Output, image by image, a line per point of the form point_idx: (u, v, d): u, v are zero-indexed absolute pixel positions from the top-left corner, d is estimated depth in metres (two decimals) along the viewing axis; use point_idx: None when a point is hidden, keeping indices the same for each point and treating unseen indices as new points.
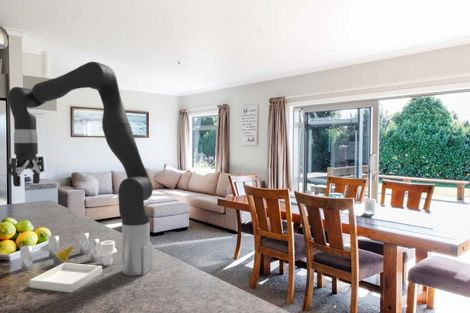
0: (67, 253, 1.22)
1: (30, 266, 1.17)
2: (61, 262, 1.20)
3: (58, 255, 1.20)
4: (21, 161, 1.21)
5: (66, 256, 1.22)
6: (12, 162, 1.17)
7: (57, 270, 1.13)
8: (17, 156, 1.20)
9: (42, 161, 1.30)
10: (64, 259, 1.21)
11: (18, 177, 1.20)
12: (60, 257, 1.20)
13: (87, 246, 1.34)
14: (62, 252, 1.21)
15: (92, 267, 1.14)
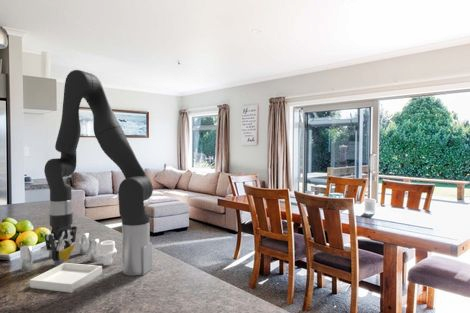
0: (68, 252, 1.22)
1: (30, 266, 1.17)
2: (62, 261, 1.20)
3: (59, 254, 1.21)
4: (57, 235, 1.19)
5: (67, 255, 1.22)
6: (50, 239, 1.15)
7: (57, 270, 1.13)
8: (53, 229, 1.18)
9: (75, 231, 1.27)
10: (65, 258, 1.22)
11: (57, 251, 1.19)
12: (61, 256, 1.21)
13: (87, 246, 1.34)
14: (63, 251, 1.22)
15: (92, 267, 1.14)
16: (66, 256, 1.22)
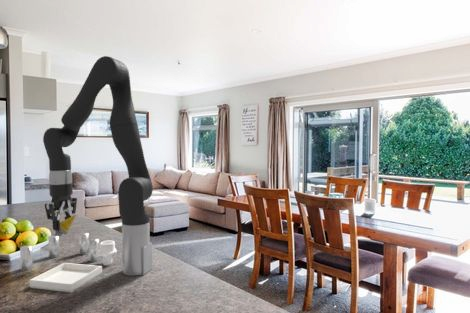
0: (69, 223, 1.22)
1: (30, 266, 1.17)
2: (63, 231, 1.20)
3: (60, 225, 1.21)
4: (57, 205, 1.18)
5: (68, 226, 1.22)
6: (50, 208, 1.15)
7: (57, 270, 1.13)
8: (53, 198, 1.18)
9: (75, 202, 1.27)
10: (66, 229, 1.21)
11: (58, 221, 1.19)
12: (62, 226, 1.20)
13: (87, 246, 1.34)
14: (64, 222, 1.22)
15: (92, 267, 1.14)
16: (67, 226, 1.22)
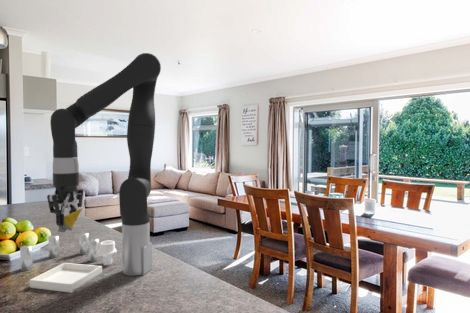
0: (74, 217, 1.08)
1: (30, 266, 1.17)
2: (67, 227, 1.06)
3: (64, 219, 1.06)
4: (62, 196, 1.04)
5: (73, 221, 1.07)
6: (53, 200, 1.01)
7: (57, 270, 1.13)
8: (57, 189, 1.03)
9: (81, 195, 1.13)
10: (71, 224, 1.07)
11: (62, 215, 1.04)
12: (66, 221, 1.06)
13: (87, 246, 1.34)
14: (68, 216, 1.07)
15: (92, 267, 1.14)
16: (72, 221, 1.07)
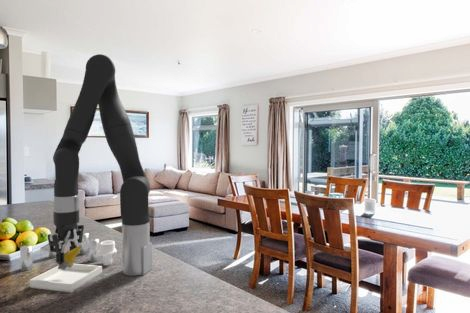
0: (74, 254, 1.08)
1: (30, 266, 1.17)
2: (67, 265, 1.07)
3: (64, 257, 1.07)
4: (62, 235, 1.05)
5: (73, 258, 1.08)
6: (53, 240, 1.01)
7: (57, 270, 1.13)
8: (57, 228, 1.04)
9: (82, 230, 1.13)
10: (71, 261, 1.08)
11: (62, 253, 1.05)
12: (66, 259, 1.07)
13: (87, 246, 1.34)
14: (68, 253, 1.08)
15: (92, 267, 1.14)
16: (72, 259, 1.08)
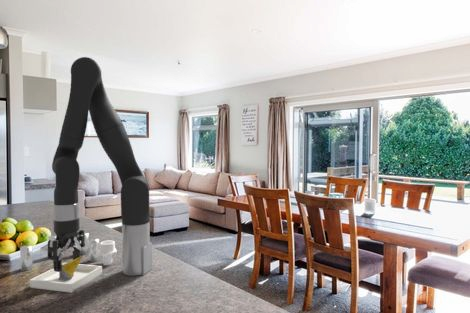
0: (74, 265, 1.08)
1: (30, 266, 1.17)
2: (68, 276, 1.06)
3: (64, 268, 1.07)
4: (62, 242, 1.04)
5: (73, 269, 1.08)
6: (53, 246, 1.01)
7: None
8: (58, 236, 1.04)
9: (83, 235, 1.14)
10: (71, 272, 1.07)
11: (59, 261, 1.03)
12: (67, 270, 1.06)
13: (87, 246, 1.34)
14: (69, 264, 1.08)
15: (92, 267, 1.14)
16: (72, 269, 1.08)
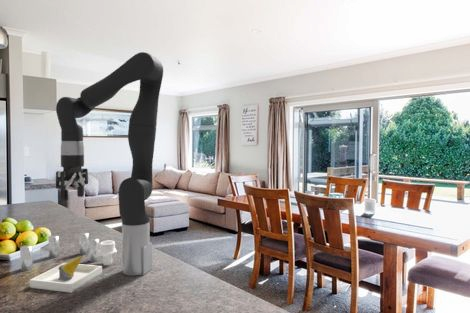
0: (74, 265, 1.08)
1: (30, 266, 1.17)
2: (68, 276, 1.06)
3: (64, 268, 1.07)
4: (69, 174, 1.16)
5: (73, 269, 1.08)
6: (61, 175, 1.12)
7: (57, 270, 1.13)
8: (65, 169, 1.16)
9: (86, 173, 1.25)
10: (71, 272, 1.07)
11: (66, 191, 1.15)
12: (67, 270, 1.06)
13: (87, 246, 1.34)
14: (69, 264, 1.08)
15: (92, 267, 1.14)
16: (72, 269, 1.08)
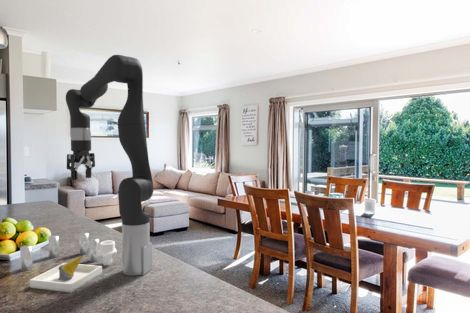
0: (74, 265, 1.08)
1: (30, 266, 1.17)
2: (68, 276, 1.06)
3: (64, 268, 1.07)
4: (78, 157, 1.32)
5: (73, 269, 1.08)
6: (71, 158, 1.28)
7: (57, 270, 1.13)
8: (74, 152, 1.31)
9: (93, 157, 1.41)
10: (71, 272, 1.07)
11: (75, 171, 1.31)
12: (67, 270, 1.06)
13: (87, 246, 1.34)
14: (69, 264, 1.08)
15: (92, 267, 1.14)
16: (72, 269, 1.08)
